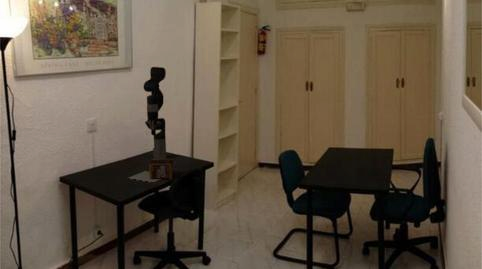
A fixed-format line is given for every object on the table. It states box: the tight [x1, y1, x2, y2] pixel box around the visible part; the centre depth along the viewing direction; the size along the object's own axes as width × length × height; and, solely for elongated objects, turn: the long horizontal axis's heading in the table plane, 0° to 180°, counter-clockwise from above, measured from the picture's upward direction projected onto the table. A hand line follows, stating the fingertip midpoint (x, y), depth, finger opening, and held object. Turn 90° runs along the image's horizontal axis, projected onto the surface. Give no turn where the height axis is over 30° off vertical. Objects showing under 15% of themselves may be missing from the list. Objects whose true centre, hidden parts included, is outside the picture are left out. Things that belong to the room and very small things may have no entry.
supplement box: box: [148, 158, 174, 180], centre depth 336 cm, size 10×15×16 cm
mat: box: [128, 170, 162, 183], centre depth 336 cm, size 22×19×1 cm
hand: (153, 135), depth 335 cm, fingers closed
